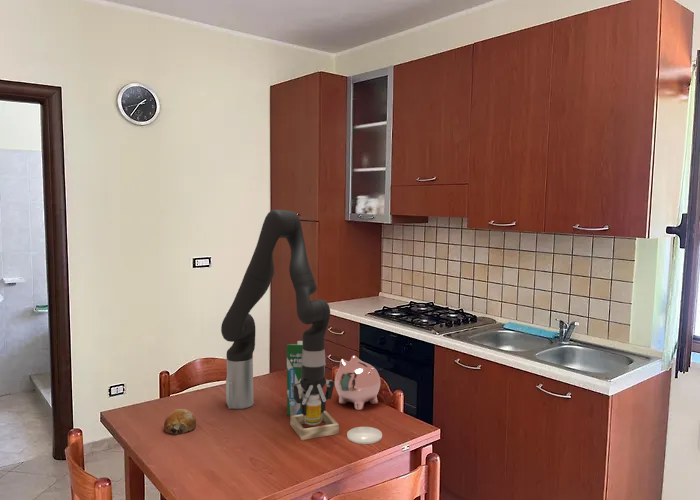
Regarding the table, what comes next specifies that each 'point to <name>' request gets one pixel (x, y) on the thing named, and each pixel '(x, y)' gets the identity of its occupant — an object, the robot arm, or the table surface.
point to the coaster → (364, 435)
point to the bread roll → (180, 421)
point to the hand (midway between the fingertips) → (312, 413)
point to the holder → (317, 431)
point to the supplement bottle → (313, 410)
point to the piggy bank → (357, 382)
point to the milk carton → (294, 376)
